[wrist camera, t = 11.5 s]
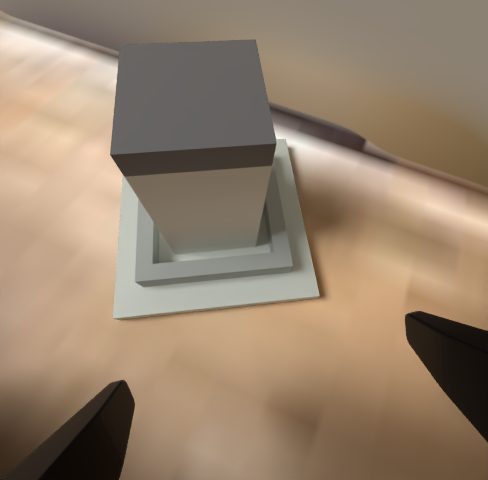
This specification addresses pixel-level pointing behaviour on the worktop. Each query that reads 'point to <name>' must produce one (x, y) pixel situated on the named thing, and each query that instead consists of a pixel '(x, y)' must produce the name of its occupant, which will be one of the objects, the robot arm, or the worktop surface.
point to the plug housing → (195, 140)
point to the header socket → (215, 259)
